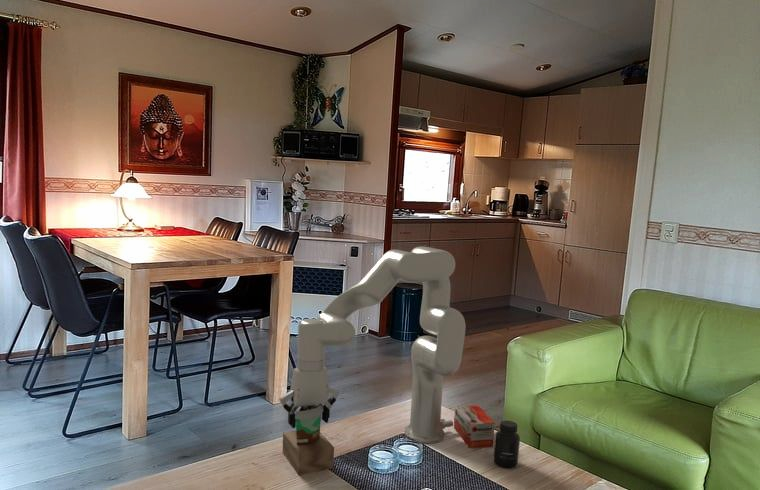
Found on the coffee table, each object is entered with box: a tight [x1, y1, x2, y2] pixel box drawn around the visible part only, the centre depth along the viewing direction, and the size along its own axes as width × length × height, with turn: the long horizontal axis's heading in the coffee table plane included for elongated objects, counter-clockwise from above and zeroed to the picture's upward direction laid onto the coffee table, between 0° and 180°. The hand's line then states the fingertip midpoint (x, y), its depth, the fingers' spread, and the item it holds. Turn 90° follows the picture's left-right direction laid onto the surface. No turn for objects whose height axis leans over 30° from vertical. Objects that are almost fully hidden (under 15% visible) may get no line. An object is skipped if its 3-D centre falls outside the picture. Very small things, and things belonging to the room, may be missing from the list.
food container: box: [295, 403, 324, 445], centre depth 160 cm, size 12×6×10 cm, turn 171°
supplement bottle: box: [493, 420, 521, 470], centre depth 164 cm, size 7×7×12 cm
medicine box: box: [453, 404, 496, 449], centre depth 180 cm, size 15×8×8 cm, turn 11°
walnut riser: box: [282, 430, 335, 476], centre depth 160 cm, size 10×14×6 cm
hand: (308, 423), depth 160 cm, fingers open, 9 cm apart
